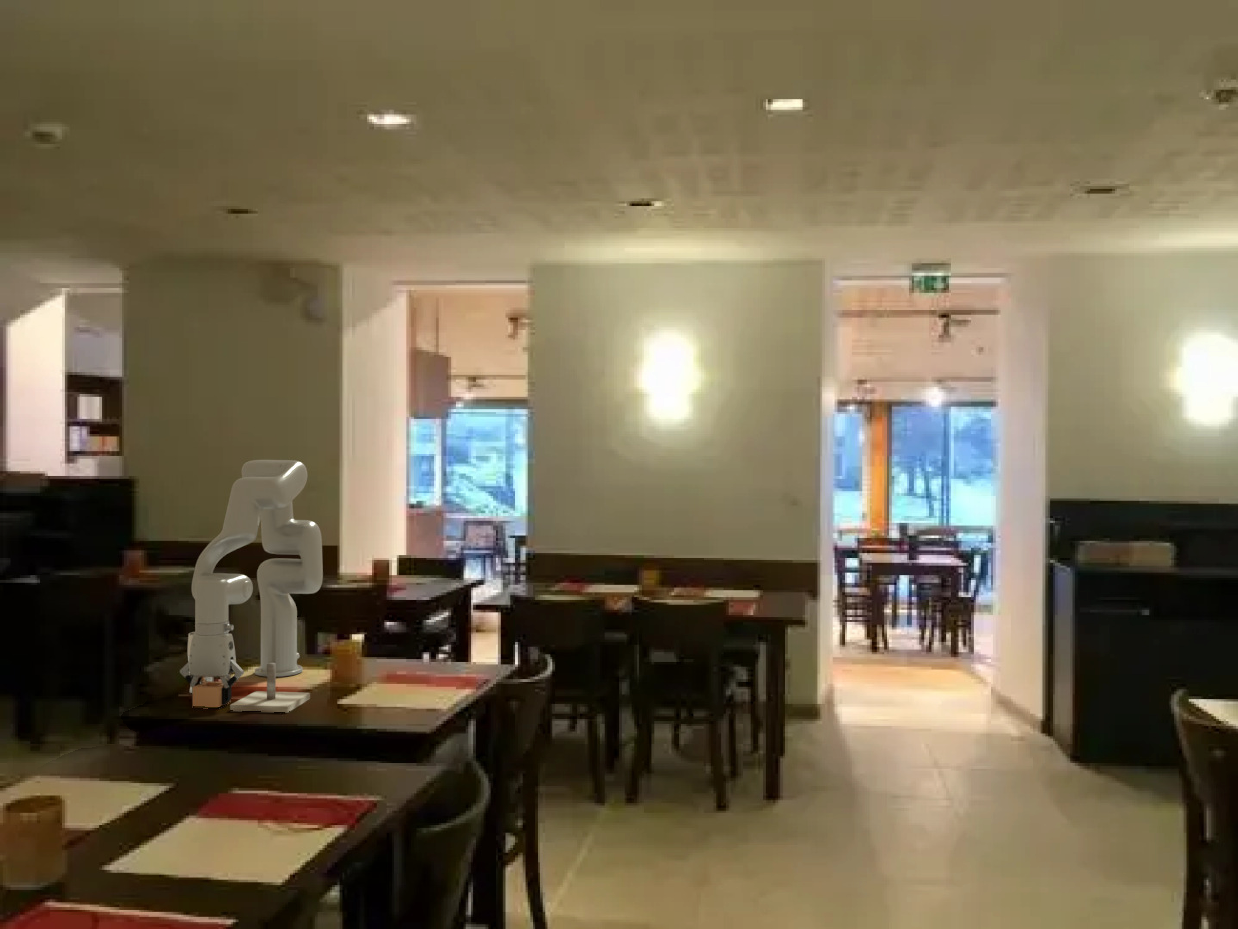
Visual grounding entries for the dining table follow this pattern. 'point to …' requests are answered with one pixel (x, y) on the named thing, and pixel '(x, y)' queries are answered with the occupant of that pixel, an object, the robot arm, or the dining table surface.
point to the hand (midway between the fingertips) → (211, 702)
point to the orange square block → (208, 694)
